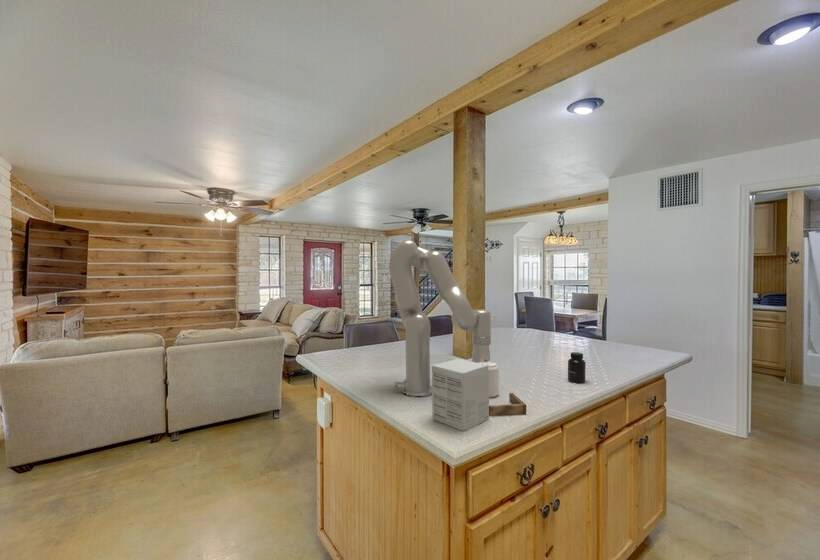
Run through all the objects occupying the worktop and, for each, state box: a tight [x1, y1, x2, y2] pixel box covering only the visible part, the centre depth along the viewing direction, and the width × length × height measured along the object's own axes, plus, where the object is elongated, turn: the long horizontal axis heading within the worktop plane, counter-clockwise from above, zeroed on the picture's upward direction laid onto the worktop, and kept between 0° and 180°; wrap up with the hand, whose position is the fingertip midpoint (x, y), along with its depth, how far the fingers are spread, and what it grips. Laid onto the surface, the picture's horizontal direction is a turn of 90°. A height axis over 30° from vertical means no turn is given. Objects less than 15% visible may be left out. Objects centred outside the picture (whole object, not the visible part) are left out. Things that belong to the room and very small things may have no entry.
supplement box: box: [431, 358, 490, 432], centre depth 116 cm, size 13×13×18 cm
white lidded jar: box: [479, 360, 500, 398], centre depth 139 cm, size 8×8×12 cm
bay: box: [489, 392, 527, 417], centre depth 125 cm, size 13×12×3 cm
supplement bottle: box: [567, 351, 587, 385], centre depth 154 cm, size 7×7×12 cm
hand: (481, 385), depth 147 cm, fingers closed
